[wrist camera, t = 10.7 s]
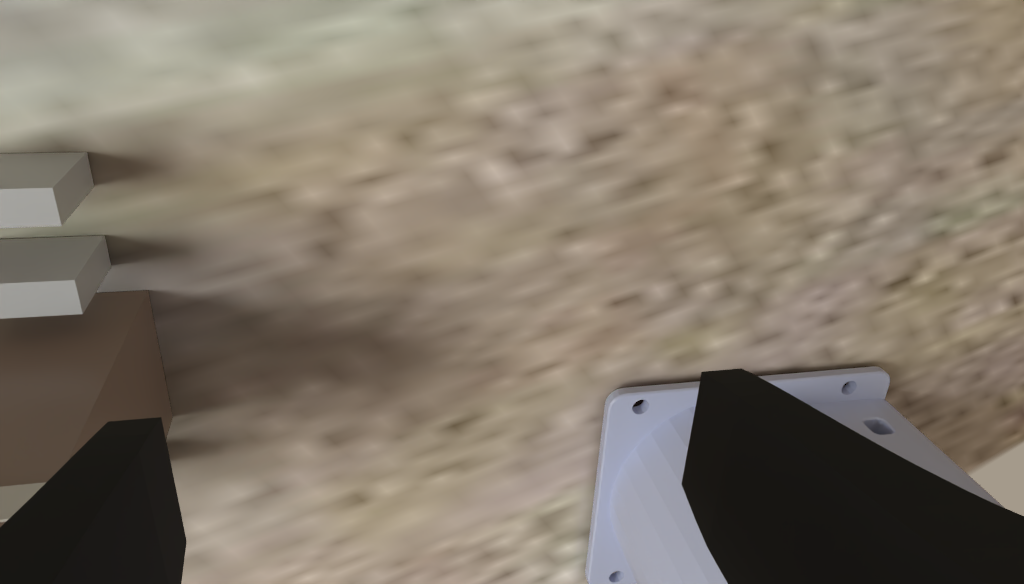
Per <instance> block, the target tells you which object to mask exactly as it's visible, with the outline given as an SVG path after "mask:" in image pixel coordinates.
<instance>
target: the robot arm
mask: <svg viewBox="0 0 1024 584" xmlns="http://www.w3.org/2000/svg"><path fill="white" fill-rule="evenodd" d="M847 382H848V384H847V385H845V386H844V387H843V385H844V384H846V383H847ZM889 384H890V376H889V374H888V373H886V372H885V371H884V370H883V369H882V368H880V367H876V366H872V367H861V368H849V369H837V370H826V371H814V372H802V373H791V374H779V375H767V376H756V375H754V374H752V373H749V372H747V371H745V370H743V369H732V370H720V371H708V372H702V374H701V380H700V381H697V382H686V383H674V384H662V385H651V386H639V387H627V388H620V389H616V390H615V391H613V392H612V393H610V395H609V396H608V397H607V399H606V402H605V408H604V417H603V425H602V434H601V443H600V451H599V460H598V468H597V477H596V485H595V494H594V502H593V511H592V519H591V528H590V536H589V545H588V554H587V562H586V571H585V574H586V578H587V581H588V584H635V583H637V584H1024V516H1021V515H1019V514H1017V513H1014V512H1012V511H1010V510H1007V509H1005V508H1004V507H1003V506H1002V505H1001V504H1000V503H999V502H997V501H996V500H995V499H994V498H993V497H992V496H991V495H990V494H989V493H988V492H986V491H985V490H984V489H983V488H982V487H981V486H980V485H979V484H978V483H976V482H975V481H974V480H973V479H972V478H971V477H970V476H969V475H968V474H967V473H965V472H964V471H963V470H962V469H961V468H960V467H959V466H958V465H957V464H956V463H954V462H953V461H952V460H951V459H950V458H949V457H948V456H947V455H946V454H945V453H943V452H942V451H941V450H940V449H939V448H938V447H937V446H936V445H935V444H934V443H932V442H931V441H930V440H929V439H928V438H927V437H926V436H925V435H924V434H922V433H921V432H920V431H919V430H918V429H917V428H916V427H915V426H914V425H913V424H911V423H910V422H909V421H908V420H907V419H906V418H905V417H904V416H903V415H902V414H900V413H899V412H898V411H897V410H896V409H895V408H894V407H893V406H892V405H891V404H889V403H888V402H887V401H886V400H885V397H886V394H887V390H888V387H889ZM639 400H644V401H643V403H642V404H640V405H639V406H636V407H633V405H634V403H636V402H637V401H639ZM185 548H186V537H185V532H184V527H183V522H182V517H181V512H180V507H179V502H178V497H177V492H176V487H175V483H174V478H173V473H172V468H171V463H170V458H169V453H168V448H167V443H166V438H165V433H164V428H163V423H162V418H161V417H157V418H145V419H133V420H121V421H109V422H107V423H106V424H105V425H104V426H103V427H102V428H101V429H100V430H99V431H98V432H97V433H96V434H95V435H94V436H93V437H92V438H91V439H89V440H88V441H87V442H86V443H85V444H84V445H83V446H82V447H81V448H80V449H79V450H78V451H77V452H76V453H75V454H74V455H73V456H72V457H71V458H70V459H69V460H68V461H67V462H66V463H65V464H64V465H63V466H62V467H61V468H60V469H59V470H58V471H57V472H56V473H55V474H54V475H53V476H52V477H51V478H50V479H49V480H48V481H47V482H46V483H45V484H44V485H43V486H42V487H41V488H40V489H39V490H38V491H37V492H36V493H35V494H34V495H33V496H32V497H31V498H30V499H29V500H28V501H27V502H26V503H25V504H24V505H23V506H22V507H21V508H20V509H19V510H18V511H17V512H16V513H15V514H14V515H12V516H11V517H10V518H9V519H8V520H7V521H6V522H5V523H4V524H3V525H2V526H1V527H0V584H181V580H182V572H183V564H184V556H185ZM616 571H617V572H616ZM613 572H615V573H613Z"/></svg>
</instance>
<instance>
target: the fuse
mask: <svg viewBox="0 0 1024 584" xmlns="http://www.w3.org/2000/svg"><path fill="white" fill-rule="evenodd" d="M157 417H161V418H162V423H163V428H164V433H165V438H167V434H168V431H169V428H170V425H171V422H172V418H173V415H172V410H171V405H170V400H169V395H168V389H167V384H166V379H165V374H164V369H163V364H162V359H161V354H160V349H159V343H158V338H157V333H156V328H155V323H154V318H153V313H152V308H151V303H150V297H149V292H148V290H143V291H124V292H105V293H95V295H94V296H93V298H92V300H91V301H90V303H89V305H88V306H87V308H86V310H85V311H84V313H83V314H75V315H58V316H40V317H22V318H5V319H0V527H1V526H2V525H3V524H4V523H5V522H6V521H7V520H8V519H9V518H10V517H11V516H12V515H14V514H15V513H16V512H17V511H18V510H19V509H20V508H21V507H22V506H23V505H24V504H25V503H26V502H27V501H28V500H29V499H30V498H31V497H32V496H33V495H34V494H35V493H36V492H37V491H38V490H39V489H40V488H41V487H42V486H43V485H44V484H45V483H46V482H47V481H48V480H49V479H50V478H51V477H52V476H53V475H54V474H55V473H56V472H57V471H58V470H59V469H60V468H61V467H62V466H63V465H64V464H65V463H66V462H67V461H68V460H69V459H70V458H71V457H72V456H73V455H74V454H75V453H76V452H77V451H78V450H79V449H80V448H81V447H82V446H83V445H84V444H85V443H86V442H87V441H88V440H89V439H91V438H92V437H93V436H94V435H95V434H96V433H97V432H98V431H99V430H100V429H101V428H102V427H103V426H104V425H105V424H106V423H107V422H109V421H121V420H133V419H145V418H157Z"/></svg>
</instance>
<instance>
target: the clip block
mask: <svg viewBox="0 0 1024 584" xmlns="http://www.w3.org/2000/svg"><path fill="white" fill-rule="evenodd" d="M93 187H94V183H93V178H92V174H91V169H90V164H89V160H88V155H87V152H65V153H8V154H0V228H19V227H47V226H62V225H63V224H64V223H65V221H66V220H67V219H68V218H69V216H70V215H71V214H72V213H73V212H74V210H75V209H76V208H77V207H78V206H79V204H80V203H81V202H82V201H83V199H84V198H85V197H86V196H87V195H88V193H89V192H90V191H91V190H92V189H93ZM110 268H111V262H110V258H109V253H108V248H107V244H106V239H105V235H102V236H76V237H49V238H23V239H0V319H5V318H22V317H40V316H58V315H75V314H83V313H84V311H85V310H86V308H87V306H88V305H89V303H90V301H91V300H92V298H93V296H94V295H95V293H96V291H97V290H98V288H99V286H100V285H101V283H102V281H103V280H104V278H105V276H106V275H107V273H108V271H109V270H110Z"/></svg>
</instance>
